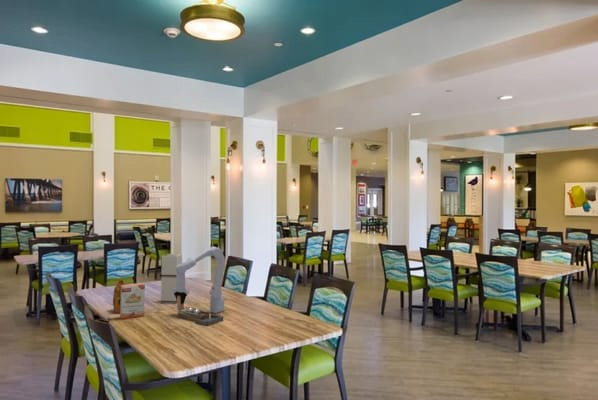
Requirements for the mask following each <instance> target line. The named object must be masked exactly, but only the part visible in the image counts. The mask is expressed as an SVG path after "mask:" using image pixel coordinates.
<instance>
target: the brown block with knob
mask: <svg viewBox="0 0 598 400" xmlns="http://www.w3.org/2000/svg"><path fill="white" fill-rule="evenodd" d="M184 304H185V303H184ZM184 304H181V300H180V295H179V296H177V304H176V311H179V310H182V311H184V310H185V305H184Z"/></svg>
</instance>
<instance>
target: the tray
mask: <svg viewBox="0 0 598 400" xmlns="http://www.w3.org/2000/svg"><path fill="white" fill-rule="evenodd" d="M222 321H223V322H224V316H221V315H218V314H215V313H213V314H212V313H211V314H210V316H209V318H207V319H204V320H200V319H195V322H194V323H195V324H197V325H202V326H206V327H208V326H211V325H214V324H217V323H219V322H222Z"/></svg>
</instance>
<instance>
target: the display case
mask: <svg viewBox="0 0 598 400" xmlns="http://www.w3.org/2000/svg"><path fill="white" fill-rule="evenodd" d="M182 262H183V254H179V253H167V254H166V255H161V275H160V276H161V277H160V278H161V279H160V280H161V281H160V282H161V283H160V284H161V287H160V289H161V291H160V292H161V293H160V294H161V295H160V297H161V298H160V303H161V304H166V303H167V305H168V304H171V305H177V300H176V297H175V295H174V293H175V291H172V288H176V276H177V275H176V274H177V272H176V267H177V266H178V265H179V264H181V263H182Z"/></svg>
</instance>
